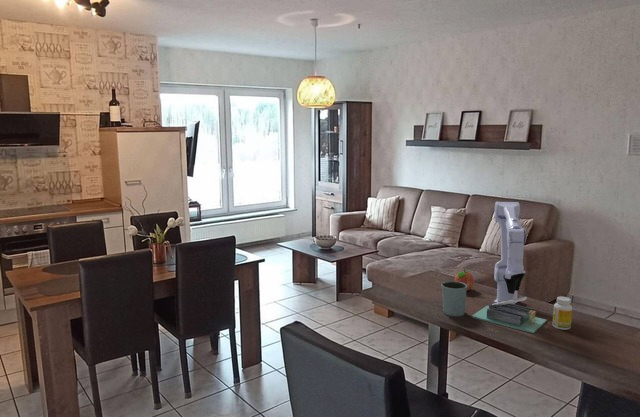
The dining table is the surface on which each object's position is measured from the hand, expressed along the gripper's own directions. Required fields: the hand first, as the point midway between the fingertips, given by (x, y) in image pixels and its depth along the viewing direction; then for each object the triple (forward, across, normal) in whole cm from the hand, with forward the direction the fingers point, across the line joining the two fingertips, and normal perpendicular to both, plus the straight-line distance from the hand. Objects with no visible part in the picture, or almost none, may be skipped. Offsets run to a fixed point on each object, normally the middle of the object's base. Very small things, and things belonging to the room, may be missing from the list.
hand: (513, 291), depth 193 cm
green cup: (+11, -11, +20) cm, 25 cm away
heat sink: (+10, -4, -1) cm, 10 cm away
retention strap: (+4, -4, 0) cm, 5 cm away
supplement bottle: (+11, +2, -18) cm, 21 cm away
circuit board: (+10, -4, 0) cm, 11 cm away
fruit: (+11, +18, +29) cm, 36 cm away
